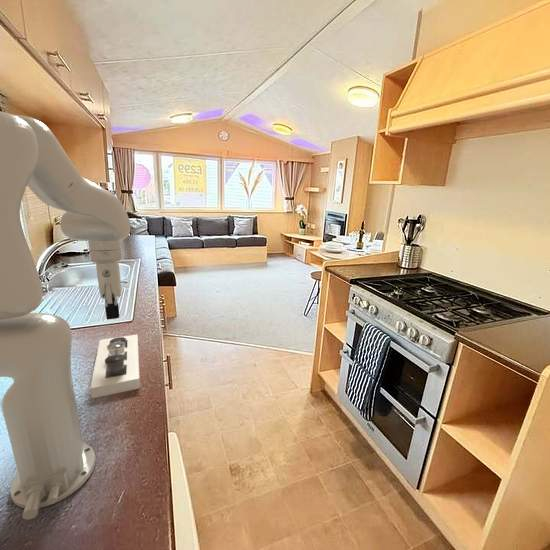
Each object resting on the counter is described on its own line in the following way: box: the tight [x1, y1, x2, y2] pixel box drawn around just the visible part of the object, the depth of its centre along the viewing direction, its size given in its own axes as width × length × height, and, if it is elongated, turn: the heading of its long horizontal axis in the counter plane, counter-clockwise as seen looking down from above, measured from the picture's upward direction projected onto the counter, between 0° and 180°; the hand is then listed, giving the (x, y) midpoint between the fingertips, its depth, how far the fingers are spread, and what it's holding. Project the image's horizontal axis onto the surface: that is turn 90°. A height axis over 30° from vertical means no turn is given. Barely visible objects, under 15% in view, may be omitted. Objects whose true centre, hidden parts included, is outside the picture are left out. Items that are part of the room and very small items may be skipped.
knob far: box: [110, 336, 126, 348], centre depth 95 cm, size 5×5×4 cm
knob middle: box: [107, 342, 125, 358], centre depth 87 cm, size 5×5×4 cm
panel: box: [89, 334, 141, 399], centre depth 88 cm, size 26×11×3 cm, turn 24°
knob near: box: [105, 354, 125, 377], centre depth 81 cm, size 5×5×4 cm
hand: (113, 317), depth 87 cm, fingers closed
